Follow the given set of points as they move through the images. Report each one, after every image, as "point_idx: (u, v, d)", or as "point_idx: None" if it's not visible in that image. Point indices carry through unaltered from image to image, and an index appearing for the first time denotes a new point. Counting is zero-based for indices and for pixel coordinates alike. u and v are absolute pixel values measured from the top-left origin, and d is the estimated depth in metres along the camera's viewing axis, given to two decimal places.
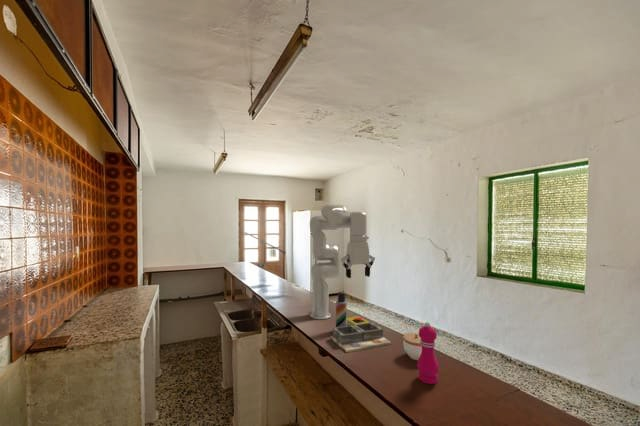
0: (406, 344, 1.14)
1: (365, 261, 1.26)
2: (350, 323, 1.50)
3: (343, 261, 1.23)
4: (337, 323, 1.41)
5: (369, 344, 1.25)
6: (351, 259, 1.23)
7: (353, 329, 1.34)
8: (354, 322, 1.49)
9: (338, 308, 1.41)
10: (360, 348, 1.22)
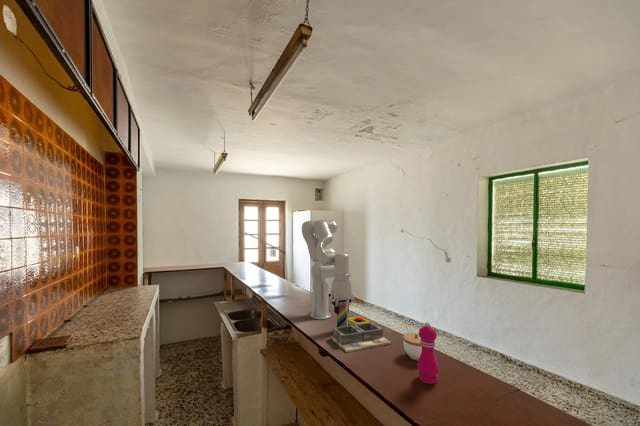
0: (406, 344, 1.14)
1: (347, 297, 1.43)
2: (351, 322, 1.50)
3: (331, 300, 1.41)
4: (338, 323, 1.42)
5: (369, 344, 1.25)
6: (335, 296, 1.40)
7: (353, 329, 1.34)
8: (355, 322, 1.49)
9: (339, 308, 1.41)
10: (360, 348, 1.22)
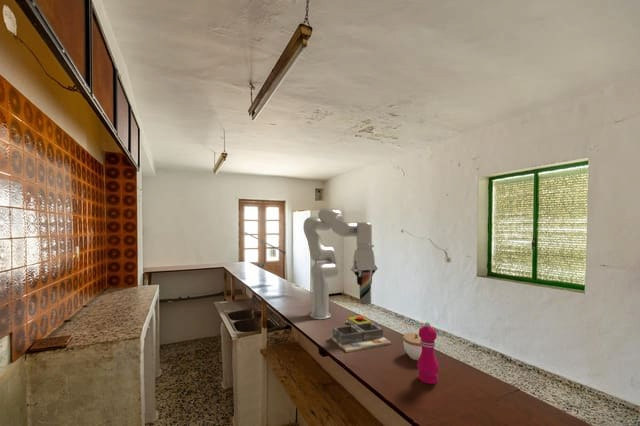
0: (406, 344, 1.14)
1: (370, 267, 1.37)
2: (352, 322, 1.51)
3: (353, 270, 1.35)
4: (361, 294, 1.36)
5: (369, 344, 1.25)
6: (358, 266, 1.34)
7: (353, 329, 1.34)
8: (356, 321, 1.50)
9: (362, 278, 1.35)
10: (360, 348, 1.22)
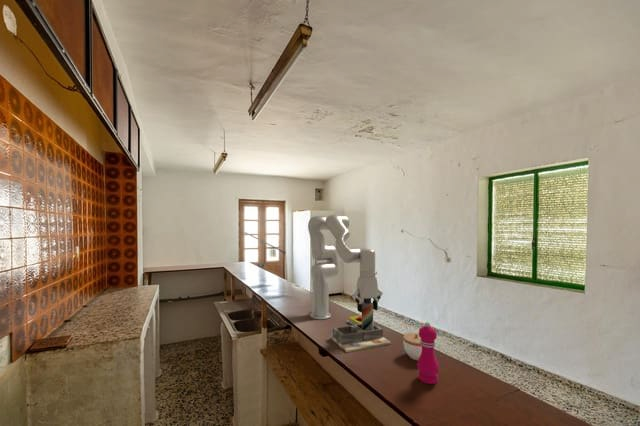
0: (406, 344, 1.14)
1: (374, 295, 1.35)
2: (353, 321, 1.52)
3: (355, 297, 1.33)
4: (363, 326, 1.35)
5: (369, 344, 1.25)
6: (361, 294, 1.33)
7: (353, 329, 1.34)
8: (357, 321, 1.51)
9: (364, 310, 1.35)
10: (360, 348, 1.22)
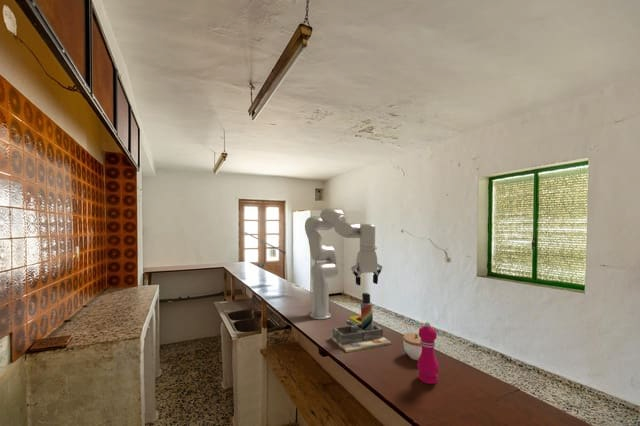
0: (406, 344, 1.14)
1: (373, 270, 1.36)
2: (354, 321, 1.52)
3: (353, 270, 1.34)
4: (363, 326, 1.35)
5: (369, 344, 1.25)
6: (361, 268, 1.34)
7: (353, 329, 1.34)
8: (358, 321, 1.51)
9: (364, 310, 1.35)
10: (360, 348, 1.22)
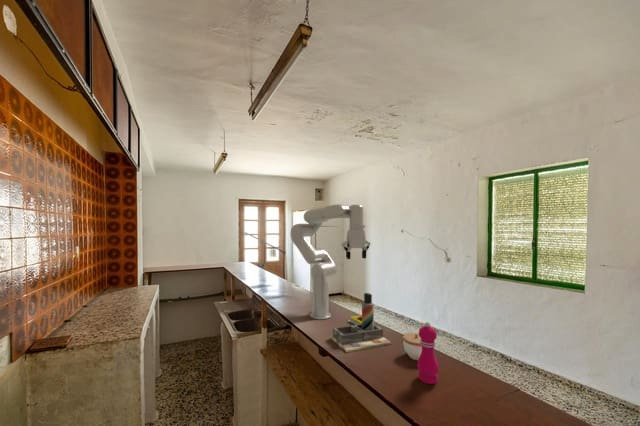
0: (406, 344, 1.14)
1: (362, 245, 1.51)
2: (355, 321, 1.53)
3: (344, 245, 1.49)
4: (364, 326, 1.35)
5: (369, 344, 1.25)
6: (350, 243, 1.49)
7: (353, 329, 1.34)
8: (359, 320, 1.52)
9: (365, 310, 1.35)
10: (360, 348, 1.22)
